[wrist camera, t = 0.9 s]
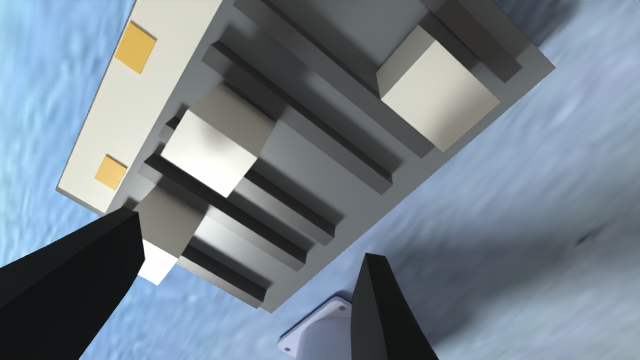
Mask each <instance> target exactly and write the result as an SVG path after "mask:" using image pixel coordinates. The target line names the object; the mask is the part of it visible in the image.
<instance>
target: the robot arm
mask: <svg viewBox="0 0 640 360" xmlns="http://www.w3.org/2000/svg"><path fill="white" fill-rule="evenodd" d="M145 260H146V259H145V252H144V245H143V239H142V232H141V225H140V219H139V212H137V211H131V210H126V209H120V208H119V209H117V210H115V211H113V212H111V213H109V214H107V215H105V216H103V217H101V218H99V219H97V220H95V221H93V222H91V223H89V224H88V225H86V226H84V227H82V228H80V229H78V230H76V231H74V232H72V233H70V234H68V235H67V236H65V237H63V238H61V239H59V240H57V241H55V242H53V243H51V244H49V245H47V246H45V247H43V248H41V249H39V250H37V251H35V252H33V253H31V254H29V255H26V256H24V257H22V258H20V259H18V260H16V261H14V262H12V263H10V264H8V265H6V266H3V267H1V268H0V360H79V358H80V357H81V355H82V354H83V352H84V351H85V350H86V348H87V347H88V346H89V344H90V343H91V342H92V340H93V339H94V337H95V336H96V335H97V333H98V332H99V331H100V329H101V328H102V326H103V325H104V324H105V322H106V321H107V320H108V318H109V317H110V316H111V314H112V313H113V311H114V310H115V309H116V307H117V306H118V304H119V303H120V302H121V300H122V299H123V297H124V296H125V295H126V293H127V292H128V290H129V289H130V287H131V286H132V284H133V282H134V280H135V279H136V277H137V275H138V273H139V271H140V269H141V267H142V265H143V264H144V262H145ZM277 347H278V348H279V349H280V350H282V351H284V352H286V353H288V354H289V355H291V356H293V357H295V358H296V359H295V360H439V359H438V357H437V356H436V354H435V352H434V351H433V349H432V347H431V346H430V344H429V342H428V341H427V339H426V337H425V336H424V334H423V332H422V330H421V329H420V327H419V325H418V323H417V321H416V319H415V318H414V316H413V314H412V312H411V310H410V308H409V306H408V304H407V302H406V300H405V298H404V296H403V294H402V292H401V290H400V288H399V285H398V283H397V281H396V279H395V277H394V274H393V272H392V270H391V267H390V265H389V262H388V260H387V258H386V257H385V256H381V255H376V254H370V253H365V257H364V260H363V263H362V267H361V270H360V273H359V277H358V280H357V283H356V287H355V290H354V293H353V297H352V304H350V303H349V302H347V301H346V300H344V299H342V298H340V297H333V298H331V299H330V300H329V301H328V302H326V303H325V304H324V305H322V306H321V307H320V308H319V309H317V310H316V311H315V312H314V313H312V314H311V315H310V316H308V317H307V318H306V319H305V320H303V321H302V322H301V323H300V324H298V325H297V326H296V327H294V328H293V329H292V330H291V331H289V332H288V333H287V334H286V335H284V336H283V337H282V338H281V339H279V340H278V341H277Z"/></svg>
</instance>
